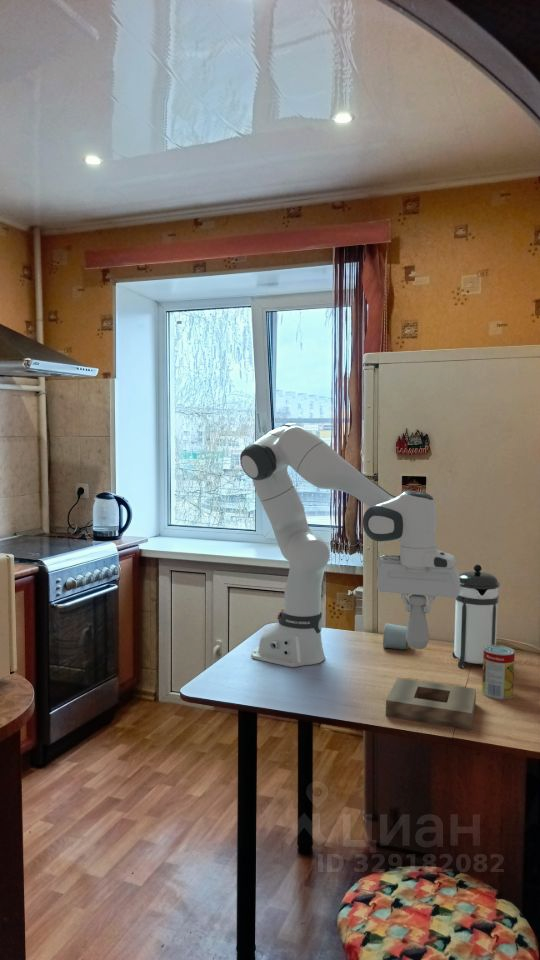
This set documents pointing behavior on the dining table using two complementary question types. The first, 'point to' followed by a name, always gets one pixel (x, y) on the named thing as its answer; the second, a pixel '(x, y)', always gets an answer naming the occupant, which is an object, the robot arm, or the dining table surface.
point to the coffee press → (475, 616)
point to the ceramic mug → (395, 637)
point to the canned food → (498, 672)
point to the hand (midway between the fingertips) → (417, 611)
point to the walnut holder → (432, 703)
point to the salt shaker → (417, 623)
